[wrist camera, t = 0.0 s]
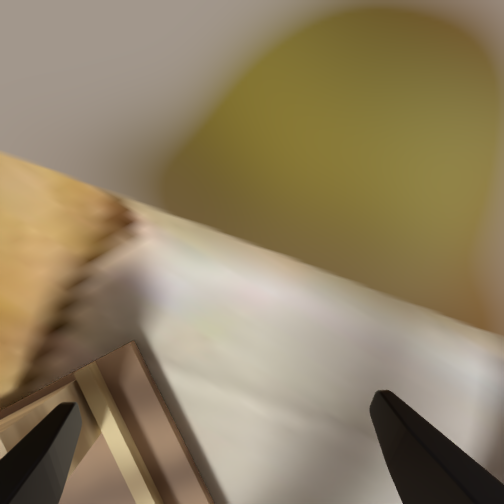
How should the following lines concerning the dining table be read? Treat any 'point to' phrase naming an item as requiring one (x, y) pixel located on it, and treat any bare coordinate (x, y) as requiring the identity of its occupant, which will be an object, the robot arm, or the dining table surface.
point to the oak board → (127, 438)
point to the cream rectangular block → (24, 420)
